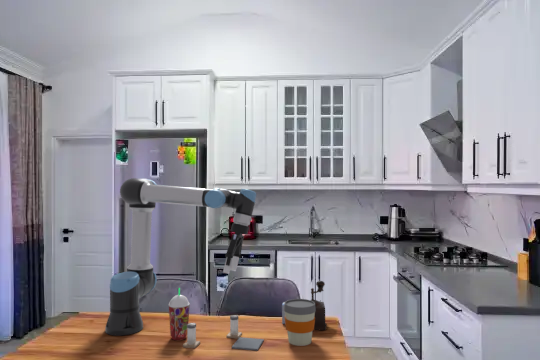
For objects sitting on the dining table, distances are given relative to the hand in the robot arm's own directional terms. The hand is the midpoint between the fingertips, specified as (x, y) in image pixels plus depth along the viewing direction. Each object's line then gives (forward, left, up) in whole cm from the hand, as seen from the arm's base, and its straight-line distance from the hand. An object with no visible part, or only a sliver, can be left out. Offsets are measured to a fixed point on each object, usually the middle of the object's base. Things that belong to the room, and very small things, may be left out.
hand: (229, 272), depth 176 cm
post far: (+5, -9, -24) cm, 26 cm away
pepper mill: (+35, +12, -24) cm, 44 cm away
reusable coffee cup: (+32, -9, -24) cm, 41 cm away
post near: (-8, -22, -24) cm, 33 cm away
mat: (+13, -17, -24) cm, 32 cm away
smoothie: (-16, -16, -24) cm, 33 cm away
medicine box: (+25, +12, -24) cm, 37 cm away
